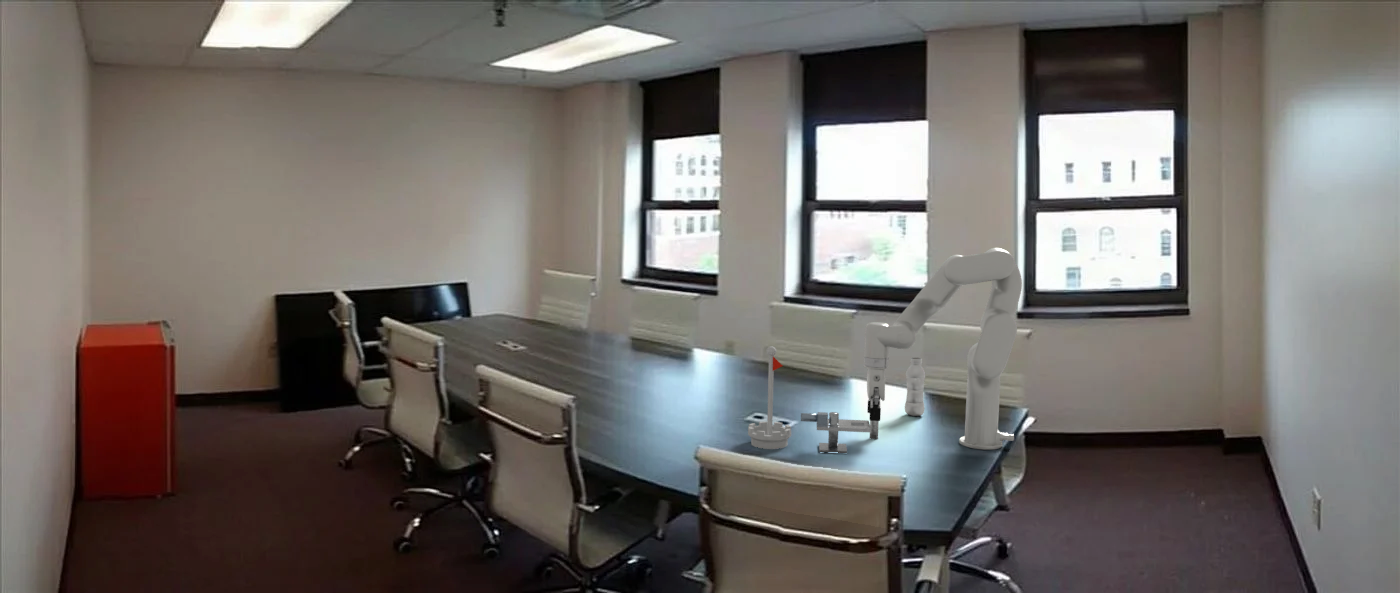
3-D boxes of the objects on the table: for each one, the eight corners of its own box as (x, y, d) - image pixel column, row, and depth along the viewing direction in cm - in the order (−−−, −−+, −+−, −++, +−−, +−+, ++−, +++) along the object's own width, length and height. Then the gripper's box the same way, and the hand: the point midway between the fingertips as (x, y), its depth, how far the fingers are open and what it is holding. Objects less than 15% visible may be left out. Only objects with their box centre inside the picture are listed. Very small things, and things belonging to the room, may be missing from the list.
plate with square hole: (867, 446, 268) (868, 410, 267) (869, 456, 259) (871, 418, 257) (800, 443, 271) (801, 408, 270) (799, 452, 261) (800, 416, 260)
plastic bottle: (926, 417, 304) (928, 360, 302) (906, 417, 305) (908, 359, 302) (921, 413, 311) (924, 356, 309) (902, 413, 311) (904, 356, 309)
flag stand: (739, 442, 271) (740, 345, 268) (771, 436, 279) (773, 341, 276) (767, 452, 261) (769, 351, 258) (799, 445, 269) (802, 347, 265)
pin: (877, 437, 279) (879, 393, 278) (878, 439, 277) (879, 395, 275) (869, 436, 280) (870, 392, 278) (869, 439, 277) (871, 394, 275)
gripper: (891, 368, 266) (888, 424, 268) (886, 358, 283) (883, 410, 285) (865, 367, 267) (863, 423, 269) (862, 357, 284) (859, 409, 286)
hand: (873, 416), depth 277 cm, fingers open, 9 cm apart
